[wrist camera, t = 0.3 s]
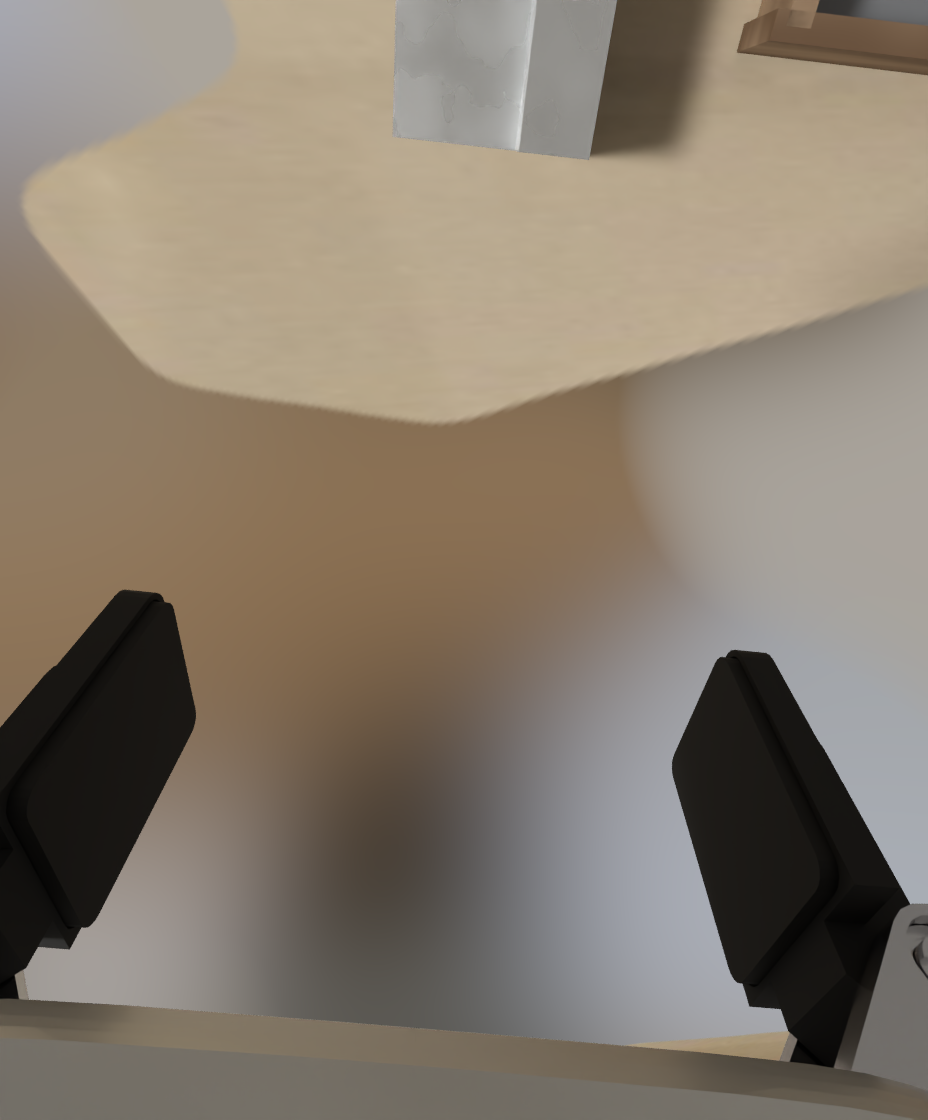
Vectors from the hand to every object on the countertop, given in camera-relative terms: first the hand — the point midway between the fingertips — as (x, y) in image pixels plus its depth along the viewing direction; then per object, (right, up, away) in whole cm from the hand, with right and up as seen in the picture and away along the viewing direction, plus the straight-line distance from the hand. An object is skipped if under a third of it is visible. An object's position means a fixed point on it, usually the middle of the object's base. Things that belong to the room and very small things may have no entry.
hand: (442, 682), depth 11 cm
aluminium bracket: (+2, +26, +18) cm, 32 cm away
